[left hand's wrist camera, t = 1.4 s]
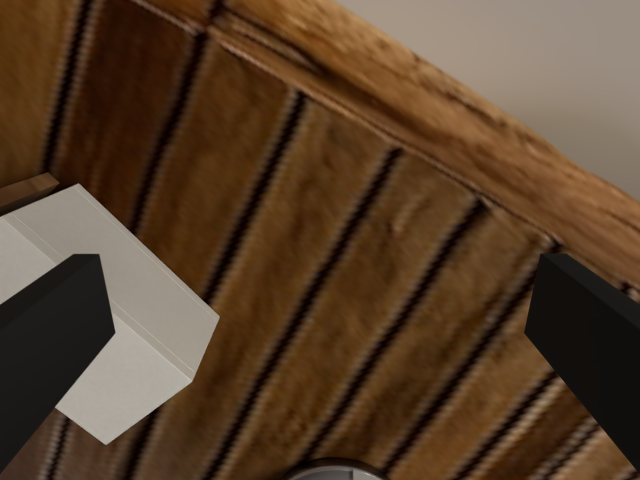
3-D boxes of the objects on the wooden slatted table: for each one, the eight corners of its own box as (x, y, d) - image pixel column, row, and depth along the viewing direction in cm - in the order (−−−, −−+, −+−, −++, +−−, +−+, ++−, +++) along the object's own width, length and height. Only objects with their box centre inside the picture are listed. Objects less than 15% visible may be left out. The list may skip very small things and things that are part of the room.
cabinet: (8, 252, 37) (-85, 304, 29) (78, 183, 35) (0, 216, 26) (149, 371, 42) (105, 445, 33) (220, 316, 39) (192, 381, 31)
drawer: (-78, 184, 34) (-177, 209, 27) (-16, 112, 32) (-106, 121, 25) (125, 353, 40) (85, 408, 33) (188, 302, 38) (159, 350, 31)
